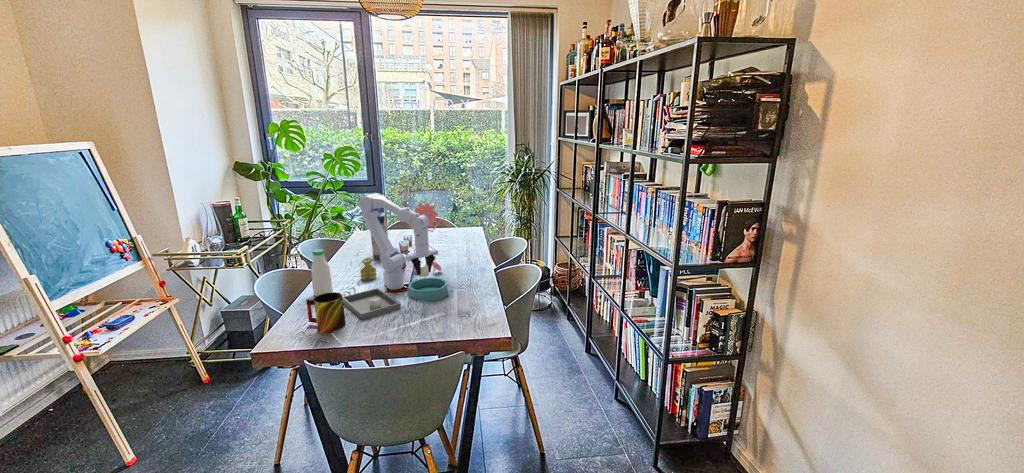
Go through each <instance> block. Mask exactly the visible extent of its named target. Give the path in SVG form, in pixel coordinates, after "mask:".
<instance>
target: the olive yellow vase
mask: <svg viewBox="0 0 1024 473" xmlns="http://www.w3.org/2000/svg"><path fill="white" fill-rule="evenodd" d="M373 261H374V259H373V258H372V259H371V258H368V257H367V258H366V257H365V258H364V259H363V260H362V261H361V263H362V264H363V265H364V266H363V267H362V268H361V269H360V271H359V273H360V280H362V281H368V282H369V281H373V280H376V278H377V268H376V267H374V266H373V265H371V264H372V263H373Z"/></svg>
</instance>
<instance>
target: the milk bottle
mask: <svg viewBox="0 0 1024 473" xmlns="http://www.w3.org/2000/svg"><path fill="white" fill-rule="evenodd" d="M312 257H313V261H312V263H311V267H310V273H311V274H310V275H311V282H312V283H311V284H312V290H313V294H314V296H315V297H317V296H318V295H321V294H325V293H334V292H333V290H334V289H333V283H332V274H331V269H330V268H331V267H330V265H329V262H328V261H327V259H326V257H325V250H324V249H322V248H321V249H314V250H312Z"/></svg>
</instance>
